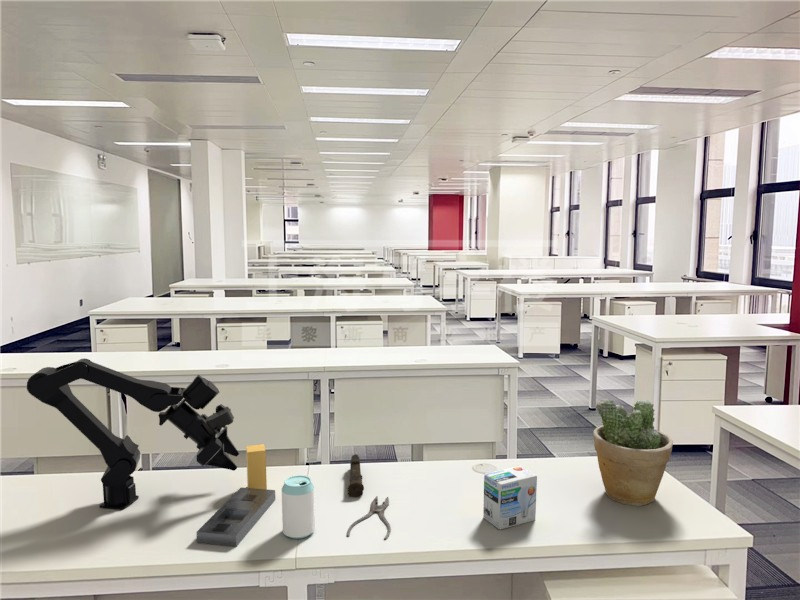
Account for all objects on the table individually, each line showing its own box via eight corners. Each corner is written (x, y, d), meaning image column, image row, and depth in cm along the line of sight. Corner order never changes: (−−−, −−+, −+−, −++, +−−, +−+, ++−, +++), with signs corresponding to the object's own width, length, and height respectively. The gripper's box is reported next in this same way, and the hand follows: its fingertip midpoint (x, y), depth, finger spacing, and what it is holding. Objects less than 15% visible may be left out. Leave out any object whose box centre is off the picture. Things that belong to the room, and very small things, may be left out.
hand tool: (363, 498, 148) (363, 480, 148) (347, 498, 148) (347, 480, 148) (365, 467, 167) (365, 452, 166) (351, 468, 167) (350, 452, 166)
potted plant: (628, 475, 161) (632, 385, 158) (687, 503, 145) (693, 404, 141) (575, 488, 153) (579, 394, 150) (632, 519, 137) (637, 415, 134)
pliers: (346, 538, 128) (349, 496, 148) (346, 542, 128) (349, 499, 148) (391, 537, 128) (388, 495, 148) (391, 541, 128) (388, 499, 148)
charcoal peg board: (196, 542, 127) (196, 531, 127) (241, 496, 148) (240, 487, 148) (236, 546, 125) (236, 535, 125) (275, 499, 147) (275, 489, 147)
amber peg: (248, 494, 150) (247, 452, 149) (247, 486, 154) (246, 446, 153) (266, 491, 151) (265, 450, 150) (265, 484, 156) (263, 444, 154)
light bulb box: (499, 530, 132) (500, 484, 131) (481, 517, 138) (482, 473, 137) (537, 519, 137) (538, 475, 136) (518, 507, 143) (519, 464, 141)
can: (316, 524, 135) (315, 473, 133) (312, 540, 128) (311, 487, 126) (285, 524, 135) (284, 473, 133) (280, 540, 128) (278, 487, 126)
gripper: (209, 410, 139) (259, 452, 142) (216, 388, 157) (260, 426, 161) (175, 444, 138) (225, 486, 142) (186, 419, 156) (230, 456, 160)
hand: (237, 461), depth 151 cm, fingers open, 9 cm apart
